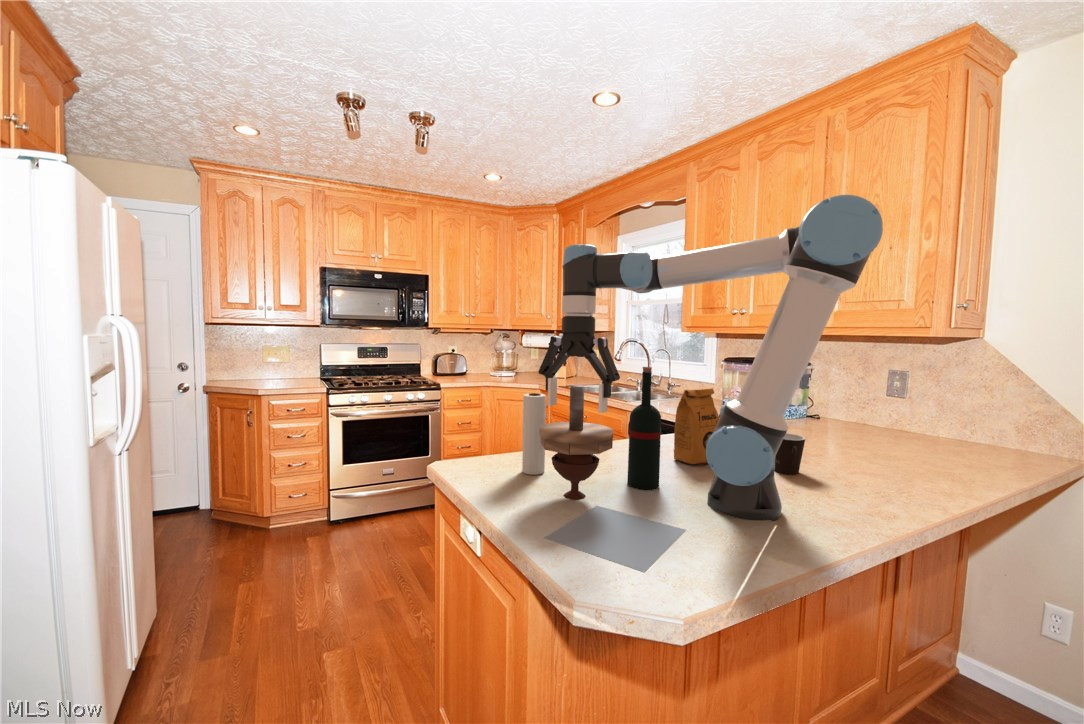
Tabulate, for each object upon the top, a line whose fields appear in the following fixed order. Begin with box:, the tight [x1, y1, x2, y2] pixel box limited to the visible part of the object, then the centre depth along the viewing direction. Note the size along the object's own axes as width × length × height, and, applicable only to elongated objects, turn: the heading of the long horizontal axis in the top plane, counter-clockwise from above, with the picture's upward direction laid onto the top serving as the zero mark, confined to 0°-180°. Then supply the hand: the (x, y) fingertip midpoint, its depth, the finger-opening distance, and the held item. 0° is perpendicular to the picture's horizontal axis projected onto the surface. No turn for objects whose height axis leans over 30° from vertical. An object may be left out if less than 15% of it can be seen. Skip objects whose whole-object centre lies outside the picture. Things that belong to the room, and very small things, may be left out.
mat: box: [543, 505, 687, 573], centre depth 90 cm, size 20×20×1 cm
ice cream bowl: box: [551, 452, 600, 501], centre depth 109 cm, size 11×11×15 cm
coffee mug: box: [774, 432, 806, 476], centre depth 131 cm, size 12×9×10 cm
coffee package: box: [673, 387, 720, 465], centre depth 140 cm, size 10×12×22 cm
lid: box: [539, 385, 614, 455], centre depth 108 cm, size 17×17×14 cm
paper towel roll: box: [521, 392, 547, 476], centre depth 128 cm, size 7×6×21 cm
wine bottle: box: [626, 366, 662, 491], centre depth 119 cm, size 8×10×30 cm
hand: (576, 408), depth 108 cm, fingers open, 13 cm apart
